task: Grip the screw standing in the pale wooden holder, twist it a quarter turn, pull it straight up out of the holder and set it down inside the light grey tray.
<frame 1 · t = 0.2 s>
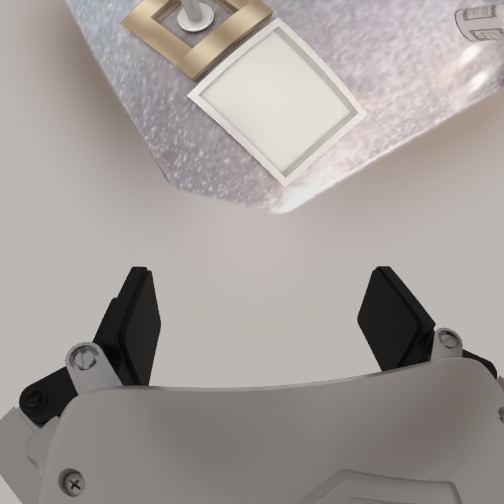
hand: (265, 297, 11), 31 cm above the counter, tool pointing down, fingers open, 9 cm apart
bath foam: (465, 25, 25), on the counter
screw: (197, 21, 27), on the counter
holder: (196, 20, 27), on the counter
tray: (278, 100, 34), on the counter
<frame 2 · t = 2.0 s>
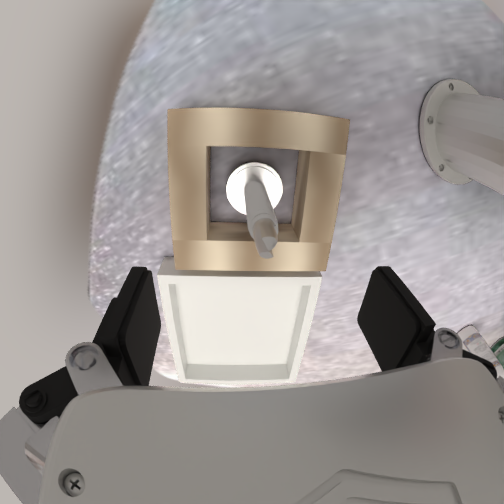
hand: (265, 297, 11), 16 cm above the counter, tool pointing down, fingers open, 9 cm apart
bath foam: (460, 336, 42), on the counter
screw: (253, 182, 26), on the counter
holder: (253, 183, 26), on the counter
tray: (237, 321, 34), on the counter
canned tomato: (495, 347, 48), on the counter
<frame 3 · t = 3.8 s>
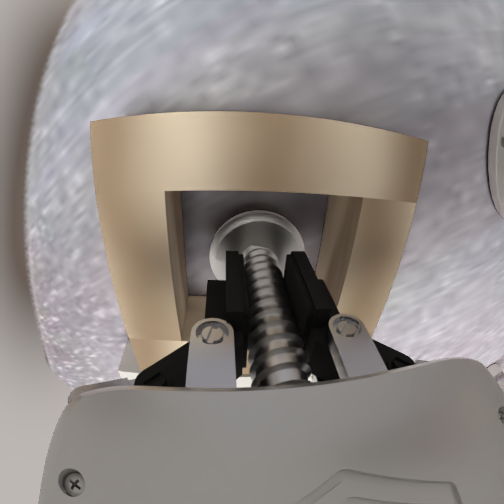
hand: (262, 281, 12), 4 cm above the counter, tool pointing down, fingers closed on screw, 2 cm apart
bath foam: (482, 375, 33), on the counter
screw: (253, 237, 16), on the counter, touching gripper
holder: (254, 239, 16), on the counter
tray: (234, 400, 24), on the counter
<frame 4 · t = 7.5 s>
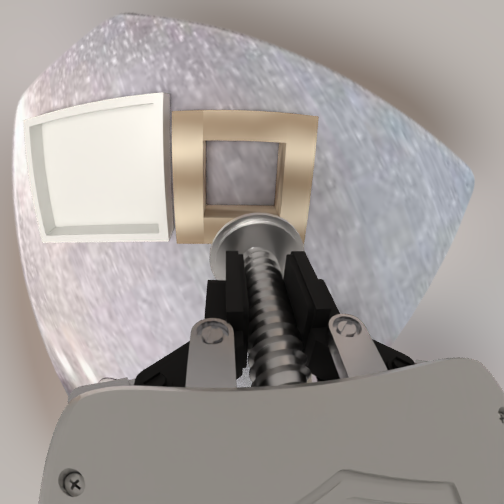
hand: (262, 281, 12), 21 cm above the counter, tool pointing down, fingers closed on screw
screw: (254, 239, 16), point 17 cm above the counter, touching gripper
holder: (241, 171, 30), on the counter
tray: (99, 168, 28), on the counter
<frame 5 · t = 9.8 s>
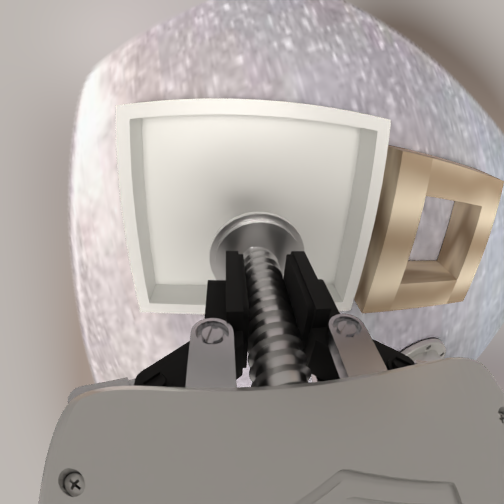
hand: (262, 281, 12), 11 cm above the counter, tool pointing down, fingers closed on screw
screw: (253, 238, 16), point 6 cm above the counter, touching gripper
holder: (421, 225, 24), on the counter
tray: (249, 205, 22), on the counter
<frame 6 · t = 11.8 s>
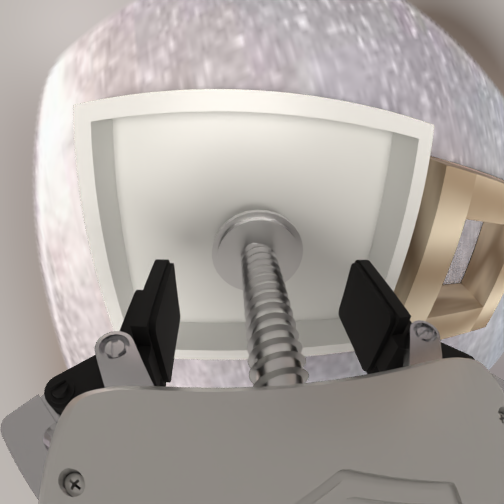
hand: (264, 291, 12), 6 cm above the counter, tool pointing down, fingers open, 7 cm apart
screw: (254, 235, 17), point 1 cm above the counter, touching tray
holder: (450, 246, 19), on the counter
tray: (252, 228, 17), on the counter
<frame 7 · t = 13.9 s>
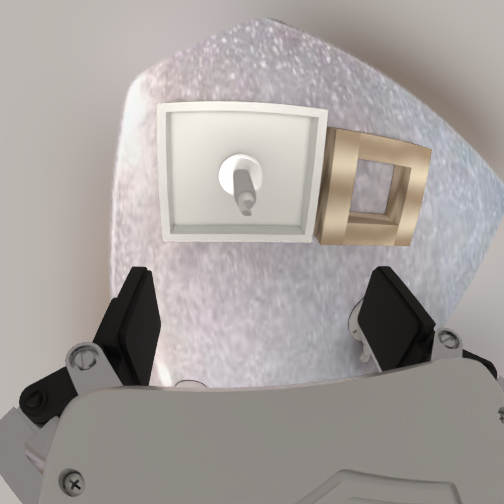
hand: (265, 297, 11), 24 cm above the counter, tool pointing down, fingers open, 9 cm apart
screw: (240, 171, 32), point 1 cm above the counter, touching tray
holder: (366, 185, 34), on the counter
tray: (239, 168, 32), on the counter
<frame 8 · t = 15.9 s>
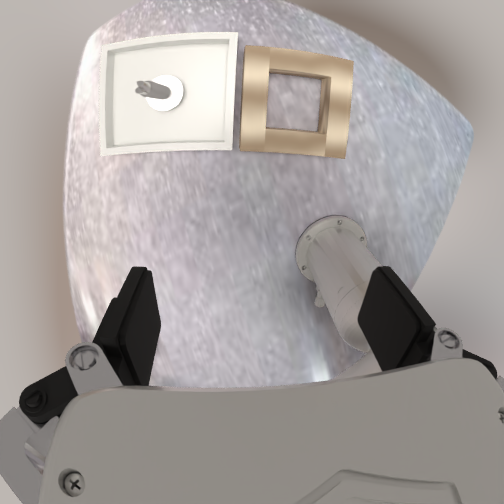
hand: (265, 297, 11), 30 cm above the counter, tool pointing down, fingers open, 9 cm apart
screw: (168, 93, 32), point 1 cm above the counter, touching tray
holder: (292, 102, 34), on the counter
tray: (168, 92, 32), on the counter
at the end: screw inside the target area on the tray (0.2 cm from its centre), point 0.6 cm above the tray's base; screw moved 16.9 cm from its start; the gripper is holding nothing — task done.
